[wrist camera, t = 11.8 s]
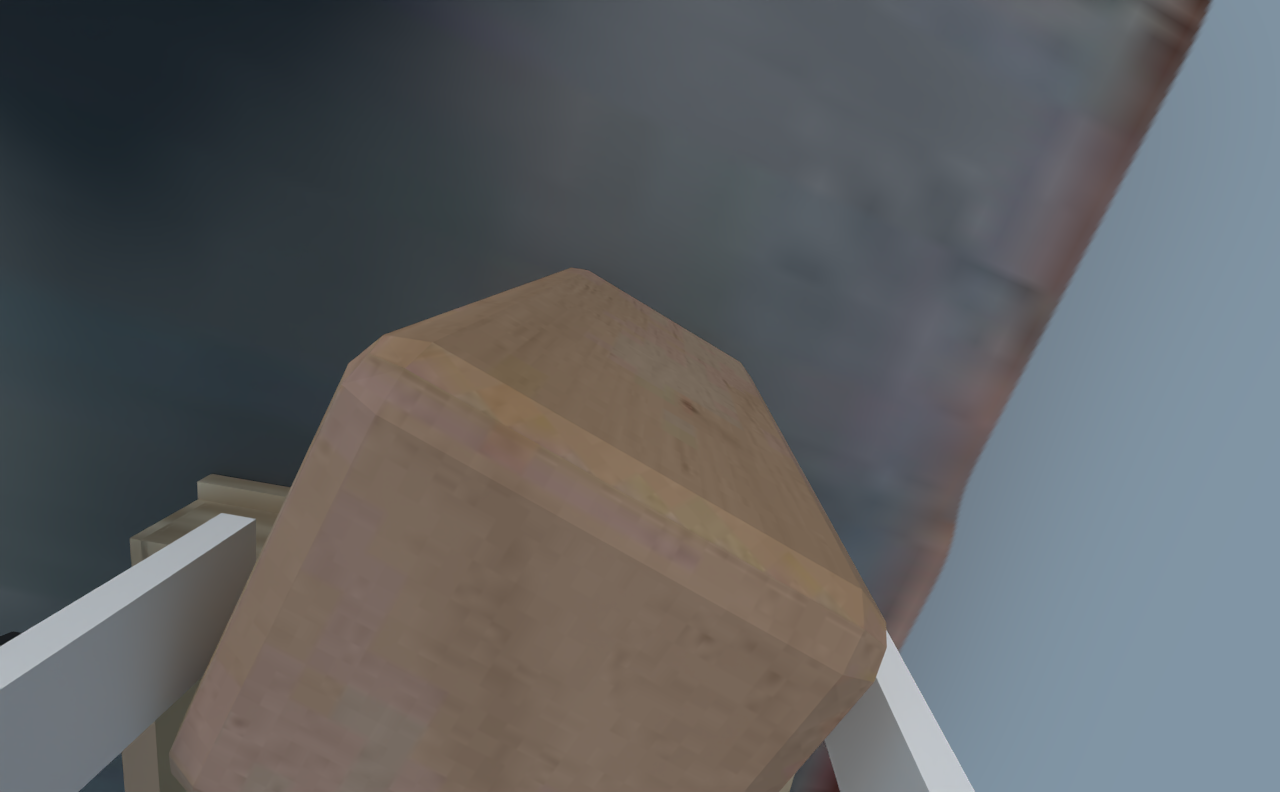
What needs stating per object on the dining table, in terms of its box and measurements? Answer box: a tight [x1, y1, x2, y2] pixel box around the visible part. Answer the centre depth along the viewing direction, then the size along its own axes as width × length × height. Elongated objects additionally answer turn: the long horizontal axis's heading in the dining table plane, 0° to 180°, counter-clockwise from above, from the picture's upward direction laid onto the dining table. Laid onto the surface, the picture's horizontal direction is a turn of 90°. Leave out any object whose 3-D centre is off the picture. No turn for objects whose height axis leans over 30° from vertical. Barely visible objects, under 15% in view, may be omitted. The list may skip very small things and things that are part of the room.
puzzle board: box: [130, 474, 795, 792], centre depth 31 cm, size 17×32×5 cm, turn 81°
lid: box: [122, 678, 202, 792], centre depth 26 cm, size 15×15×4 cm
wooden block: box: [169, 268, 887, 792], centre depth 19 cm, size 10×10×20 cm
